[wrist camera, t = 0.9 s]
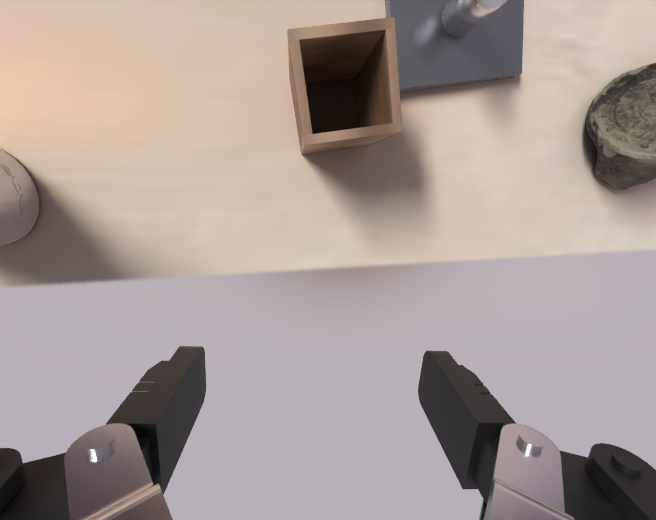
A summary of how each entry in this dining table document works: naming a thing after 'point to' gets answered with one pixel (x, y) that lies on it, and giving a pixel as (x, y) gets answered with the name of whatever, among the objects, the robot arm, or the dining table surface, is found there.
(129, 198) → the dining table surface
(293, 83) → the walnut sleeve
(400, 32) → the post plate
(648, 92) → the fossil
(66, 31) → the dining table surface
